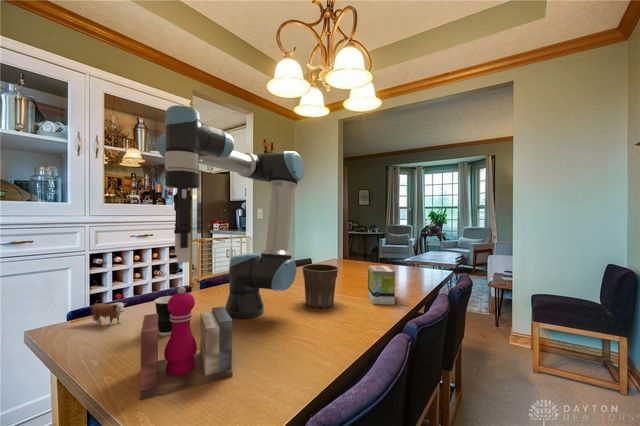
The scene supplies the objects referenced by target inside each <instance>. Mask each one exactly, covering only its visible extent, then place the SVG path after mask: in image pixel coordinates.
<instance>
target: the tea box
mask: <svg viewBox="0 0 640 426" xmlns="http://www.w3.org/2000/svg"><path fill="white" fill-rule="evenodd" d="M367 267H368V268H367V295H368V296H367V297H368V298H369V299H370V301H371V303H372V304H373V305H395V294H396V293H395V291H396V290H395V288H396V286H395V285H396V271H395V270H394V269H392V268H391V266H388V265H368V266H367Z"/></svg>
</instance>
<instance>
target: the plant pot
mask: <svg viewBox="0 0 640 426" xmlns="http://www.w3.org/2000/svg"><path fill="white" fill-rule="evenodd" d="M301 269H302V275H303V276H302V277H303V278H304V280H303V281H304V295H305V304H306V306H308V307H311V308H316V309H317V308H318V309H319V308H320V307H321V308H322V309H324V308H330V307H332V306H333V305H334V303H335V302H334V300H335V299H334V298H335V291H336V290H335V289H336V283H337V282H336V281H337V278H338V272H339V270H340V268H339V266H336V265H333V264H324V263H321V264H320V263H316V264H314V263H312V264H305V265H302V266H301Z"/></svg>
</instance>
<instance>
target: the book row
mask: <svg viewBox="0 0 640 426" xmlns="http://www.w3.org/2000/svg"><path fill="white" fill-rule="evenodd" d="M199 315H200V317H199V319H200V321H199V322H200V324H199V326H200V328H199V329H200V330H199V332H200V333H199V351H198V352H196V354H195V355H194V356H193V357H194V359H195V366H194V368H193V369H192V370H191V371H190V372H188V373H185V374H182V375H175V376H174V375H169V374H167V372H166V364H167V363H168V361H167V360H166V359H165V358H164V359H161V360H160V359H158V358H159V354H158V353H159V330H158V313H149V314H145V315H144V316H143V321H142V325H141V329H140V378H139V379H140V382H139V383H140V384H139V385H140V386H139V387H140V388H139V391H140V392H139V400H141V401H142V400H144V399H149V398H152V397H156V396H160V395H164V394H169V393H172V392H177V391H180V390H181V391H182V390H184V389H188V388H192V387H196V386H199V385H204V384H207V383H213V382H215V381H220V380H223V379H228V378H232V377H233V375H234V374H233V371H234V370H233V318H231V317H230V316H229V314H228V313H227V311H226V310H225V306H224V305H223V306H222V305H221V306H216V307H212V308H211V311H206V312H200V313H199Z"/></svg>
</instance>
